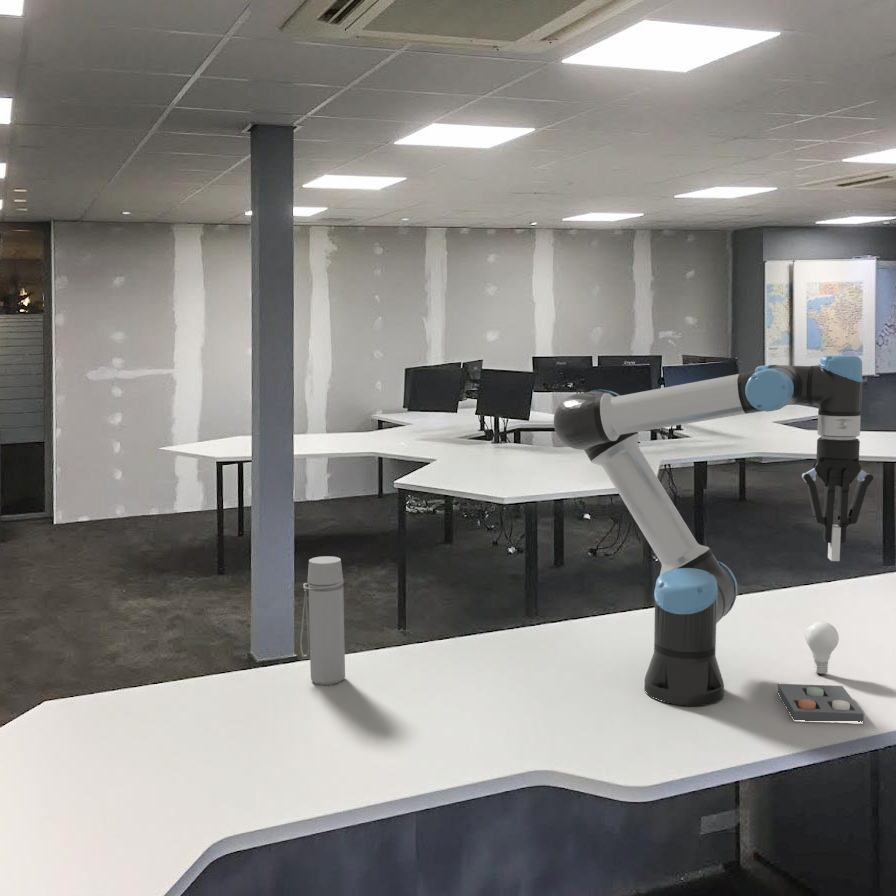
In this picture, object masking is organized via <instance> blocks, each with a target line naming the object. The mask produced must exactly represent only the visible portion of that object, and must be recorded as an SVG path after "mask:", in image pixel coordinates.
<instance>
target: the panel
mask: <svg viewBox="0 0 896 896" xmlns="http://www.w3.org/2000/svg"><path fill="white" fill-rule="evenodd" d="M808 687H818V688H821V689H823V690H824V695H823V696H807V688H808ZM778 693H779V695H780V697H781V699H782V700H781V699H780V700H781V702H782V701H783V702H784V704H785V705H784V704H783V705H784V707H785V706H786V707H787V709H788V711H789V712H790V714H791V716H792V717H793V719H794V720H805V721H858V722H860V721H861V722H862V721H863V722H864V720H865V719H864V716H865V714H864V712H863V711H862V709H860V707H859V706H858V705H857V703H856V701H854V700H853V698H852V696H851V695H850V694H849V692H848V691H847V690H846V689H845V687H844V686H843V685H828V684H826V685H825V684H799V683H798V684H797V683H795V684H793V683H777V694H778ZM779 695H778V696H779ZM780 697H779V698H780ZM800 699H810V700H813V701H815V702H816V709H803V708H798V701H799V700H800ZM834 700H843V701H847V702H849V703H850V710H832V701H834ZM783 702H782V703H783ZM786 707H785V708H786ZM787 709H786V710H787ZM788 711H787V712H788ZM789 712H788V713H789ZM790 714H789V715H790ZM791 716H790V717H791ZM793 719H792V720H793Z"/></svg>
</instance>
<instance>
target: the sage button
mask: <svg viewBox="0 0 896 896" xmlns="http://www.w3.org/2000/svg"><path fill="white" fill-rule="evenodd" d="M823 695H824V690H823V689H821V688H818V687H808V688H807V696H823Z"/></svg>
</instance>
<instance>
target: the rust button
mask: <svg viewBox="0 0 896 896" xmlns="http://www.w3.org/2000/svg"><path fill="white" fill-rule="evenodd" d="M798 708H803V709H816V702H815V701H813V700H810V699H800V700H799V701H798Z"/></svg>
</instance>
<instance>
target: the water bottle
mask: <svg viewBox="0 0 896 896" xmlns="http://www.w3.org/2000/svg"><path fill="white" fill-rule="evenodd" d="M342 566H343V565H342V560H341V558H340V557H337V556H329V555H328V556H327V555H326V556H325V555H324V556H317V557H316V556H315V557H312V558H310V559H308V570H307V572H308V573H307V582H304V583H303V584H302V587H303V591H304V596H303V606H302V617H301V618H302V619H301V629H300V640H299V646H300V647H299V648H300V654H301V657H303V658H306V657H308V655H309V654H310V655H309V656H310V658H309V660H310V664H309V666H310V680H311V681H312V683H315V684H317V685H324V686H328V685H330V686H331V685H334V684H335V685H336V684H339V683H341V682H342V681H343V680H344V679H345V678H346V657H345V655H346V654H345V653H346V651H345V649H346V648H345V612H344V611H345V608H344V607H345V606H344V604H345V603H344V602H345V601H344V581H345V580H344V577H343V576H344V575H343V567H342ZM307 591H308V597H307ZM305 614H306V616H304V615H305ZM305 617H306V635H307V636H306V637H307V653H306V654H304V651H303V644H302V641H303V629H304V619H305Z"/></svg>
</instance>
